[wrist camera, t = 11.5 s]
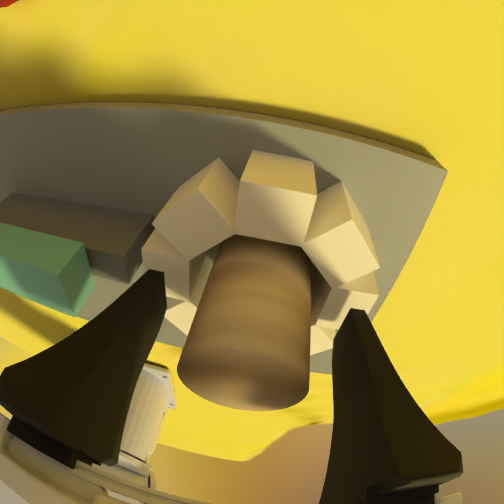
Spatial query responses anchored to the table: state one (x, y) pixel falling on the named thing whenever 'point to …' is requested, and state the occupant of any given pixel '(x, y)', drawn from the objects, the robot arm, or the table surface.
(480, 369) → the table surface
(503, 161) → the table surface
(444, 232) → the table surface
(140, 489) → the robot arm
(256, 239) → the peg
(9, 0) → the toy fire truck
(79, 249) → the bar
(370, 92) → the table surface
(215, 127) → the board
